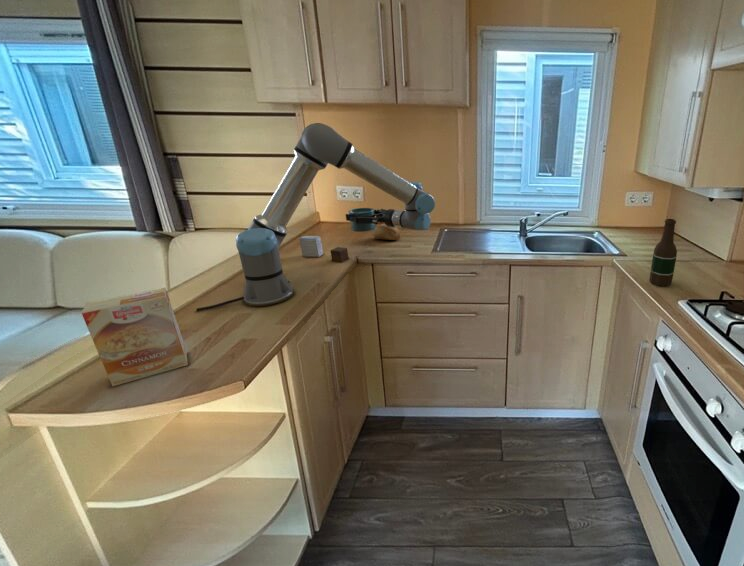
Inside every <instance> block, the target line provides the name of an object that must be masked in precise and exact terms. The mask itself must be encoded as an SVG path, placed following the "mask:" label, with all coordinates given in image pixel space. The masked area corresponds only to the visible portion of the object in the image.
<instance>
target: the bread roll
mask: <svg viewBox="0 0 744 566" xmlns="http://www.w3.org/2000/svg"><path fill="white" fill-rule="evenodd" d="M372 235H373V238H374V239H376V240H389V241H390V240H391V241H398V240H400V239H401V237H402V234H401V231H400V228H397V227H388V226H387V225H386V224H385V223H380V224H377V225H376V229H374V230H373V234H372Z"/></svg>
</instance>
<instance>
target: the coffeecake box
mask: <svg viewBox="0 0 744 566" xmlns="http://www.w3.org/2000/svg"><path fill="white" fill-rule="evenodd" d="M81 315H82V318H83V320H84V322H85V325H86V328H87V330H88V333H89V335H90V338H91V340H92V342H93V344H94V347H95V349H96V351H97V355H98V356H99V359H100V361H101V363H102V365H103V367H104V370H105V372H106V375H107V377H108V379H109V382H110V384H111V386H112V387H115V386H116V387H117V386H119V385H123V384H126V383H130V382H134V381H136V380H141V379H144V378H147V377H151V376H155V375H158V374H161V373H165V372H168V371H172V370H175V369H180V368H182V367H186V366H188V352H187V348H186V346H185V343H184V339H183V336H182V334H181V331H180V327H179V324H178V321H177V318H176V315H175V312H174V308H173V306H172V303H171V300H170V297H169V294H168V291H167V288H166V287H162V288H161V287H160V288H157V289H152V290H146V291H142V292H135V293H130V294H124V295H121V296H114V297H110V298H104V299H99V300H93V301H88V302H86V303H85V305H84V308H82V311H81Z"/></svg>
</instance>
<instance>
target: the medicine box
mask: <svg viewBox="0 0 744 566" xmlns="http://www.w3.org/2000/svg"><path fill="white" fill-rule="evenodd" d="M298 239H299V244H300V250H301V255H302V257H303V258H304V257H307V258H308V257H309V258H311V257H312V258H320V257H321V256H323V255H324V250H323V245H322V238H321V236H320V235H303V236H301V237H300V238H298Z"/></svg>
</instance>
